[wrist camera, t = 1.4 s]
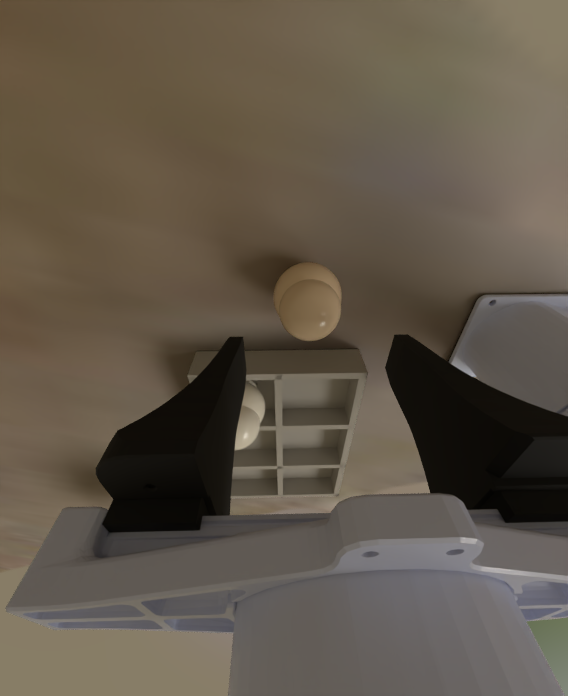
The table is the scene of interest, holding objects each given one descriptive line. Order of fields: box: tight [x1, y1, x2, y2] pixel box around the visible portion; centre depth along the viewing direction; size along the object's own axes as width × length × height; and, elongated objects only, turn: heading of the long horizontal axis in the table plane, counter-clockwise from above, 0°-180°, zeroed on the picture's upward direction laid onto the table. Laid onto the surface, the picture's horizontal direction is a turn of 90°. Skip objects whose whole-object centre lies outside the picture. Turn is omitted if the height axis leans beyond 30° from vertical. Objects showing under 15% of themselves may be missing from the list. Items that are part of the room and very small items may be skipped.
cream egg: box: [235, 380, 265, 450], centre depth 22 cm, size 4×4×6 cm
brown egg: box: [274, 262, 342, 341], centre depth 18 cm, size 4×4×6 cm
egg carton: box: [187, 349, 368, 499], centre depth 28 cm, size 14×20×3 cm
